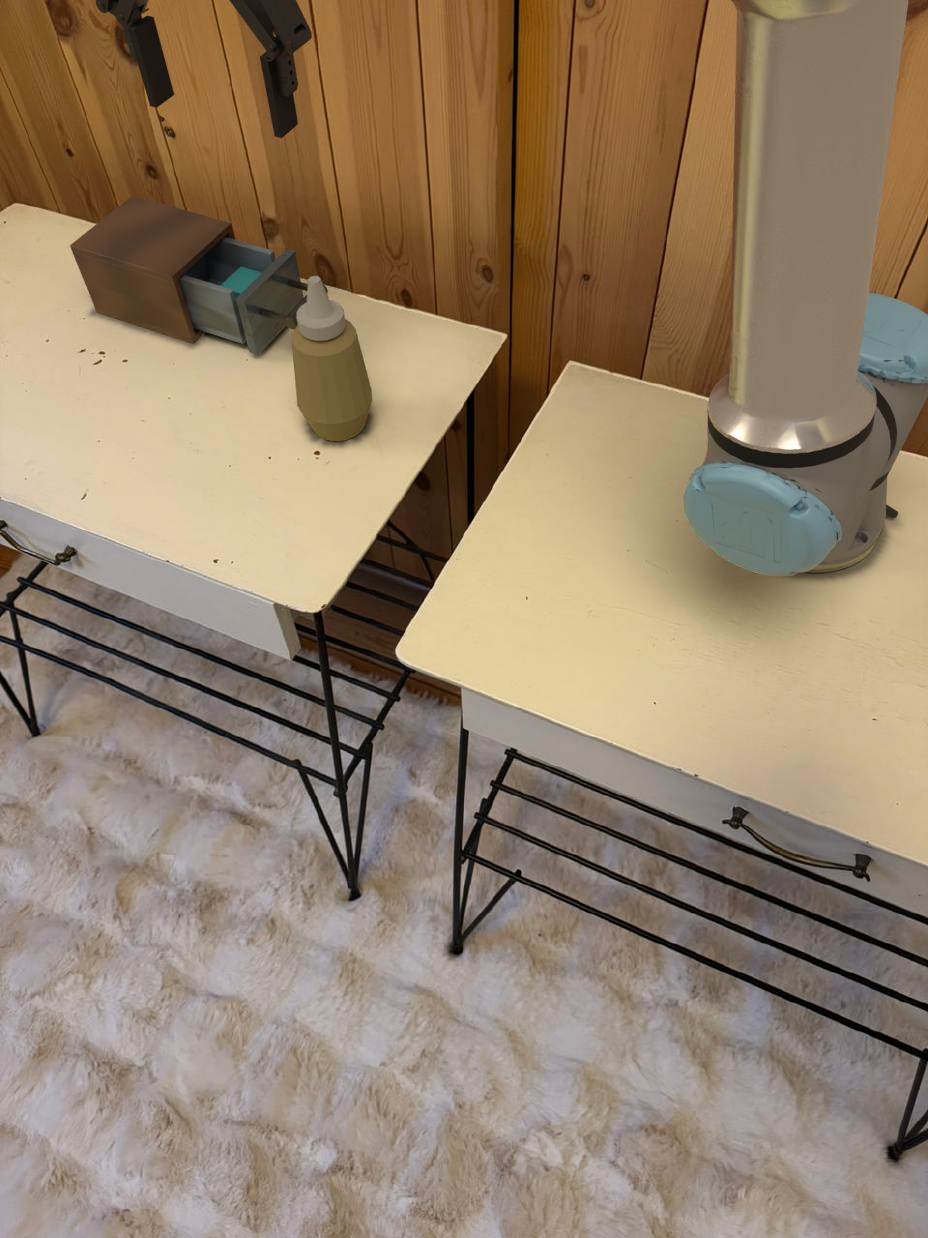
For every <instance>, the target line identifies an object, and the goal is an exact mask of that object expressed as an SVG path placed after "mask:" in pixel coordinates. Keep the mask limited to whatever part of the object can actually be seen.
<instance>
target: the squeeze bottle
mask: <svg viewBox="0 0 928 1238" xmlns="http://www.w3.org/2000/svg"><path fill="white" fill-rule="evenodd" d="M307 284H308V290H307V291H306V293H307V294H306V295H307V302H306V303H305V304H303V305H302V306H301V307H300V308H299V310H298V311H297V323H298V326H297V327H296V328H295V329H293V332H292V333H291V350H292V360H293V369H294V370H293V372H294V373H293V374H294V383H295V393H296V407H297V408H298V410H299V411H300V412H301V414H302V416H303V417H304V419H305V420H306V421H307V423H308V425H309V426H310V428H311V429H312V430H313V431H314V433H315V434H316V435H317V436H318V437H319V438H322V439H323V440H326V441H331V442H340V441H343V442H344V441H347V440H350V439H353V438H355V437H356V436H358V435H359V434H360V433H362V431H363V430H364V428H365V426H366V423H367V421H368V417H369V413H370V409H371V405H372V402H373V390H372V385H371V382H370V379H369V375H368V370H367V367H366V364H365V358H364V355H363V352H362V348H361V344H360V340H359V336H358V332H357V329H356V327H355V326H354V325H353V323H352V322H351V321H350V320H347V318H346V317H345V309H344V307H343V306H342V304H341V303H339V302H338V301H335V300H333V299H330V298H329V295H328V294H327V293H326V291H325V288H324V286H323V284H324V283H323V281H322V279H321V277H320V276H318V275H312V276H310V277H309V278H308V279H307Z"/></svg>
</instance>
